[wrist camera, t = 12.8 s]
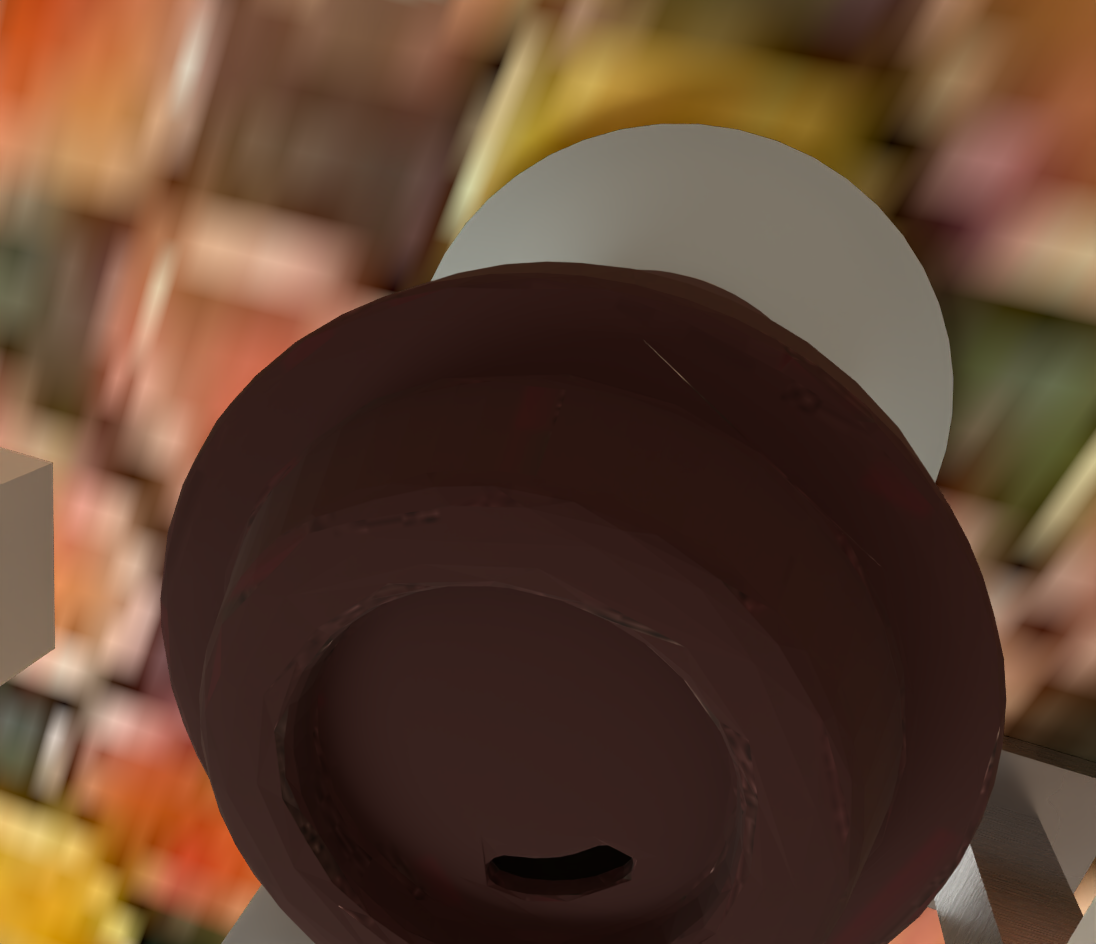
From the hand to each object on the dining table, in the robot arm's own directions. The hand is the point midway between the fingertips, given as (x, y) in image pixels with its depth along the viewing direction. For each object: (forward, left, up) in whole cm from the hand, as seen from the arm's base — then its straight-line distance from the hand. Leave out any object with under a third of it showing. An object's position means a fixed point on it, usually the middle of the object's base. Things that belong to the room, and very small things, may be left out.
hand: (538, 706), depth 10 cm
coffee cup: (0, 0, -13) cm, 13 cm away
